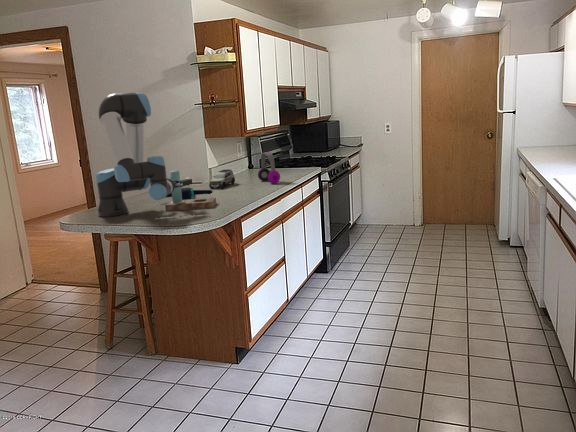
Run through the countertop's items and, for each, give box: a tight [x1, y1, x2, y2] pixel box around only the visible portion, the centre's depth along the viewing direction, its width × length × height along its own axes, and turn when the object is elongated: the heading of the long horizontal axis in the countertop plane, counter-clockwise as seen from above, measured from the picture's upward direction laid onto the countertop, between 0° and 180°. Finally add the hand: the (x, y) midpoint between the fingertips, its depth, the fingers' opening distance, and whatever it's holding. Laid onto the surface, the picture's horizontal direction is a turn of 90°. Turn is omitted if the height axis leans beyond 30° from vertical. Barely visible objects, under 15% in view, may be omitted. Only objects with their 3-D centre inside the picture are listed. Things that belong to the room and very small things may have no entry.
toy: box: [164, 187, 214, 200], centre depth 290 cm, size 31×8×30 cm
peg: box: [169, 170, 182, 203], centre depth 259 cm, size 5×5×16 cm
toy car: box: [208, 168, 236, 189], centre depth 330 cm, size 13×24×10 cm, turn 171°
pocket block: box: [164, 197, 217, 212], centre depth 261 cm, size 24×12×4 cm, turn 88°
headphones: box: [257, 151, 281, 185], centre depth 331 cm, size 21×9×20 cm, turn 25°
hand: (176, 180), depth 260 cm, fingers open, 13 cm apart
